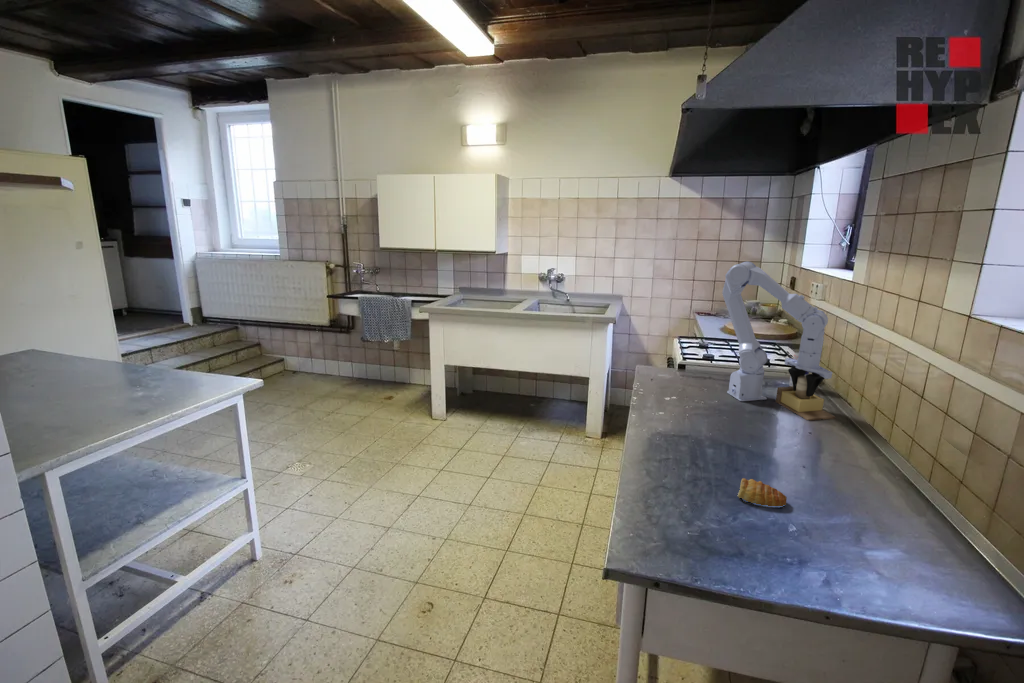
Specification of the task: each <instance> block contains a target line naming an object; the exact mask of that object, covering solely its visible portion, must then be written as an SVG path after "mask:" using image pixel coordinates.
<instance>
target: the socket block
mask: <svg viewBox="0 0 1024 683" xmlns="http://www.w3.org/2000/svg"><path fill="white" fill-rule="evenodd" d="M795 393H796V391H782V396H781V402H782V403H784V404H785V405H787V406H789V407H791V408H792V409H794V410H796V411H798V412H805V411H818V410H823V408H824V403H825V399H824V398H822V397H820V396H818V395H817V394H814V395H813V396H810V399H799V398H797V397H796V396H795Z"/></svg>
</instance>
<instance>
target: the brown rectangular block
mask: <svg viewBox="0 0 1024 683" xmlns="http://www.w3.org/2000/svg"><path fill="white" fill-rule="evenodd" d="M782 391H794V390H793V386H791V387H790V386H780V387H777V390H776V397H775V403H776V404H779V405H780V406H782V407H783V408H785V409H786V410H789V411H790V412H792V413H794V414H795V413H796V415H797V416H799V417H801V418H802V417H803V418H802V419H804V420H806V421H807V420H810V421H819V420H820V421H822V420H821V419H823V420H833V419H836V416H835V415H833V414H832V413H830V412H827V411H825V410H823V409H822V410H818V411H805V412H798V411H796V410H794V409H792V408H791V407H789V406H787V405H785V404H784V403H782V402H781V396H782Z"/></svg>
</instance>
